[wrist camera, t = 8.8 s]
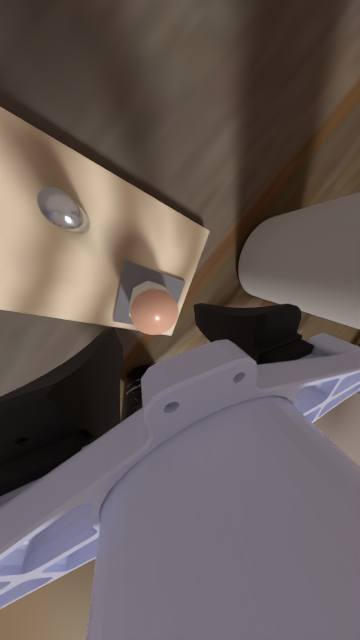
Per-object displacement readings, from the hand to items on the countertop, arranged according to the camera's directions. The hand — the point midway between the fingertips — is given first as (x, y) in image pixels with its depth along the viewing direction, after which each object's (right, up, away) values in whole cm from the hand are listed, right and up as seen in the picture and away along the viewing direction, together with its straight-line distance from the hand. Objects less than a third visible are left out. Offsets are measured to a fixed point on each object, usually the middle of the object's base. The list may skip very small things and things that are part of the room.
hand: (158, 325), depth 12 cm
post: (-8, +10, +1) cm, 13 cm away
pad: (-2, +3, +7) cm, 8 cm away
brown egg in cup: (-2, +3, +6) cm, 8 cm away
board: (-6, +8, +5) cm, 11 cm away
